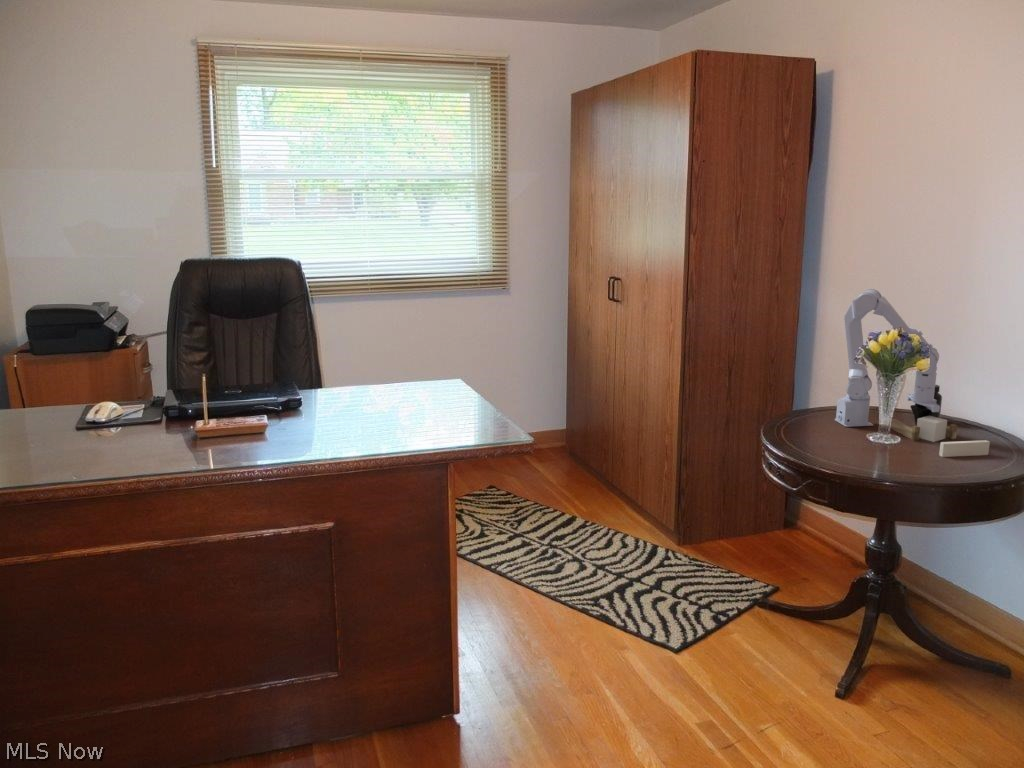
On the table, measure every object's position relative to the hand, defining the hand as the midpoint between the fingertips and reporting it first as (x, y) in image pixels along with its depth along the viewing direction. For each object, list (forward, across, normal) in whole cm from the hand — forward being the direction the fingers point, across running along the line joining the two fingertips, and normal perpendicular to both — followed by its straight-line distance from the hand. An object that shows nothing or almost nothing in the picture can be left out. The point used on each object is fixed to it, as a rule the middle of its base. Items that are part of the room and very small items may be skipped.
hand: (920, 427), depth 252 cm
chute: (+1, -1, 0) cm, 2 cm away
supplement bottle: (+2, +12, -10) cm, 15 cm away
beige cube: (+2, -6, 0) cm, 6 cm away
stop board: (+1, -22, 0) cm, 22 cm away
